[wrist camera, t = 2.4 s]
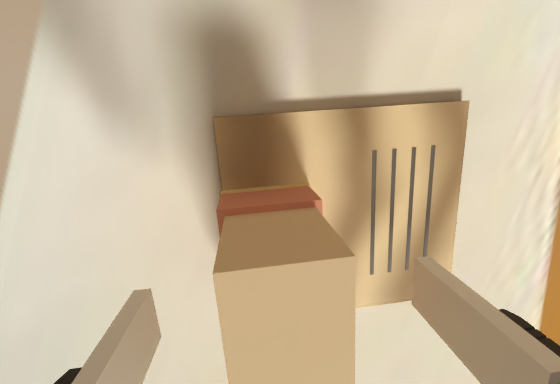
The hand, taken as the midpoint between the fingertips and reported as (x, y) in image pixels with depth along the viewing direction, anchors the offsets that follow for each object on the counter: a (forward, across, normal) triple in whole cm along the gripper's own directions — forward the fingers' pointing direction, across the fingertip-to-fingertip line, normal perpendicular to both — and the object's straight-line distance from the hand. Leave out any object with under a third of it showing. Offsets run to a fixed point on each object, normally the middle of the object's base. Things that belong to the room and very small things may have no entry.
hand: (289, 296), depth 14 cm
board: (+8, +6, +1) cm, 9 cm away
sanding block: (+7, 0, 0) cm, 7 cm away
